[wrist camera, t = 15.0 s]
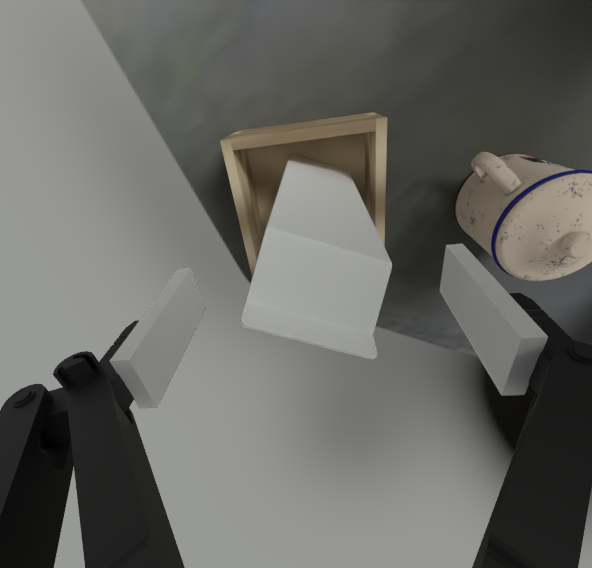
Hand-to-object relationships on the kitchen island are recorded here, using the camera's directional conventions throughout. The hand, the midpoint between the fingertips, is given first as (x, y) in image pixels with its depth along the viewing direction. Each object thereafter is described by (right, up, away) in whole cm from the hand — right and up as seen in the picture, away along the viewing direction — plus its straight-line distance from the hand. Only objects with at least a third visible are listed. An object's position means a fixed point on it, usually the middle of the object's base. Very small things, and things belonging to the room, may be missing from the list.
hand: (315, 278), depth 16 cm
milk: (0, +9, +15) cm, 18 cm away
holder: (0, +9, +16) cm, 18 cm away
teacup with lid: (+19, +9, +15) cm, 26 cm away
